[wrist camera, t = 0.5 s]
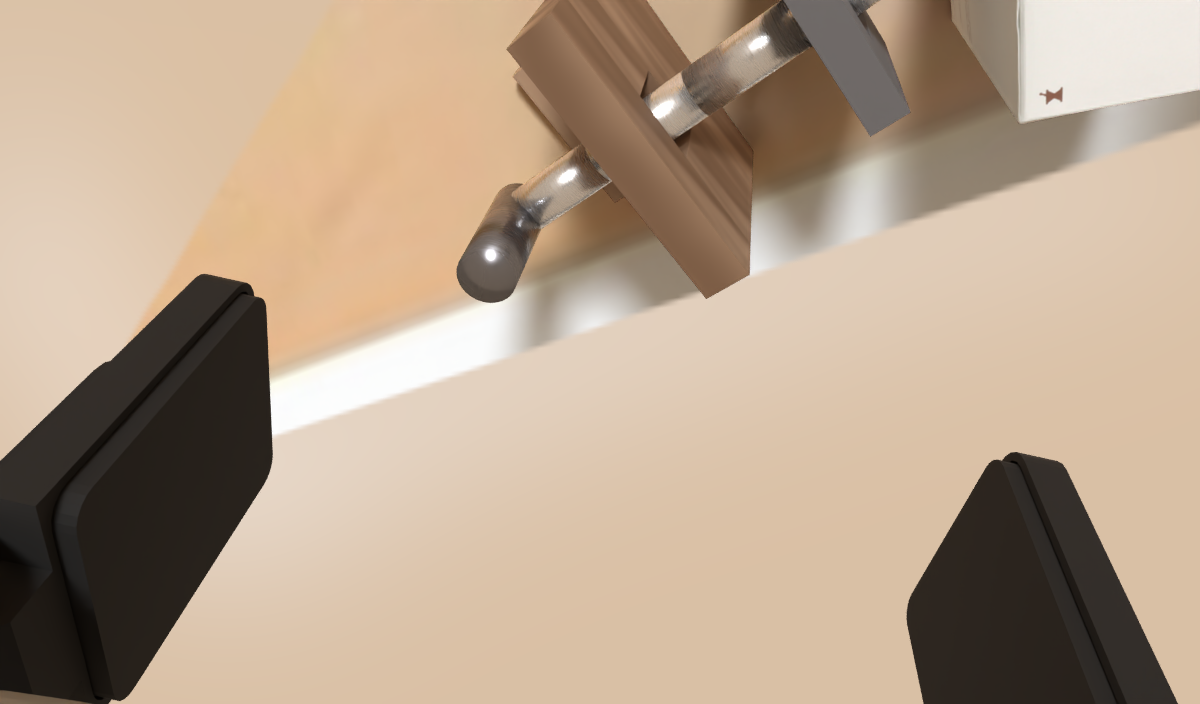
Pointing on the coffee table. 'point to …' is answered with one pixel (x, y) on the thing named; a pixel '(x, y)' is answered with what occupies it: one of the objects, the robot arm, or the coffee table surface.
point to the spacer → (854, 59)
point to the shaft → (578, 176)
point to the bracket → (642, 130)
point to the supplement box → (1082, 51)
